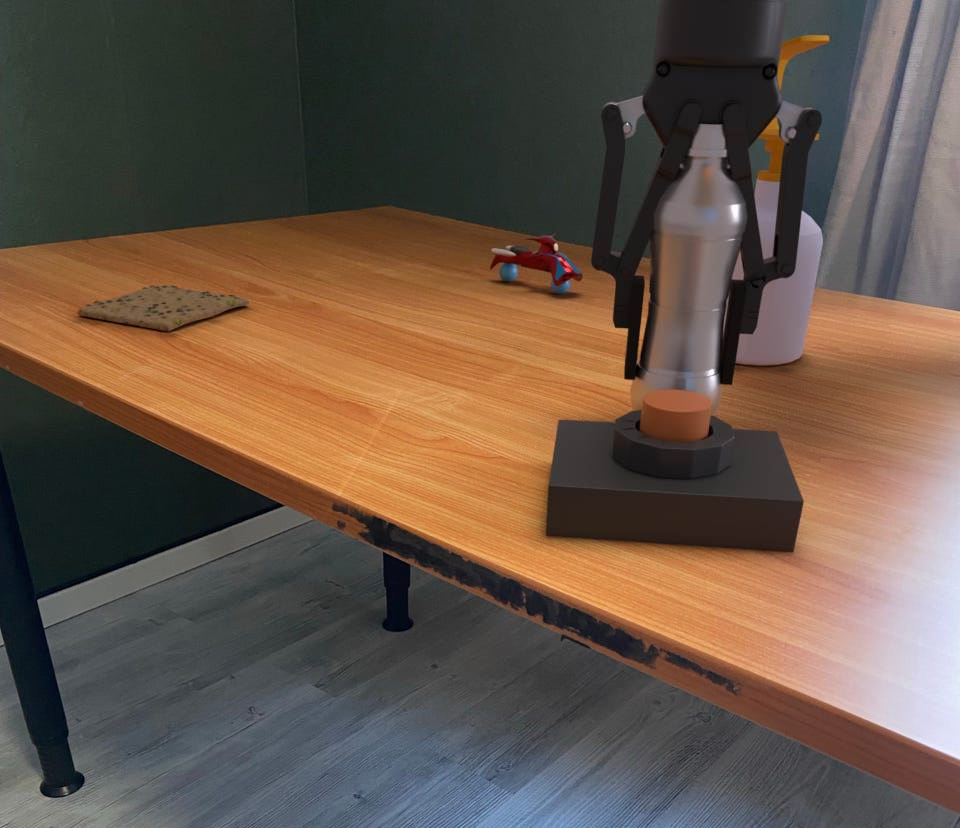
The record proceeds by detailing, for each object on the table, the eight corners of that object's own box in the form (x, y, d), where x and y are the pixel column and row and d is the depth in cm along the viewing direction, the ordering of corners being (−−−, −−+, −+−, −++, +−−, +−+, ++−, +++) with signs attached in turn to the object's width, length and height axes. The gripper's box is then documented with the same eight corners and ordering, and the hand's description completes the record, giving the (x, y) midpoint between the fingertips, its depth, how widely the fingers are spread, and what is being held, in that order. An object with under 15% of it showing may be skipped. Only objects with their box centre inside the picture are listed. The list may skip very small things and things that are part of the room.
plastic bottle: (685, 408, 76) (723, 116, 66) (735, 438, 71) (784, 125, 61) (611, 418, 74) (637, 118, 64) (656, 449, 69) (693, 128, 59)
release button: (705, 424, 60) (709, 390, 59) (710, 447, 57) (715, 413, 56) (638, 420, 61) (642, 387, 59) (639, 444, 57) (643, 409, 56)
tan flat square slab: (74, 315, 97) (72, 304, 96) (162, 290, 106) (161, 281, 106) (168, 331, 92) (166, 321, 92) (251, 304, 101) (250, 294, 101)
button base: (769, 477, 65) (782, 403, 62) (793, 553, 56) (810, 469, 53) (555, 465, 66) (560, 391, 64) (545, 536, 57) (550, 454, 55)
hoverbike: (561, 301, 105) (564, 245, 102) (481, 282, 112) (482, 229, 109) (592, 293, 108) (596, 239, 105) (512, 275, 115) (514, 224, 112)
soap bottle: (760, 373, 84) (816, 36, 71) (678, 349, 90) (716, 33, 77) (822, 355, 89) (884, 36, 76) (740, 333, 95) (785, 34, 82)
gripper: (560, -16, 56) (540, 385, 69) (906, -10, 54) (822, 400, 67) (566, -12, 63) (547, 354, 75) (876, -7, 61) (804, 367, 73)
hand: (676, 375), depth 71 cm, fingers closed on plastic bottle, 6 cm apart
